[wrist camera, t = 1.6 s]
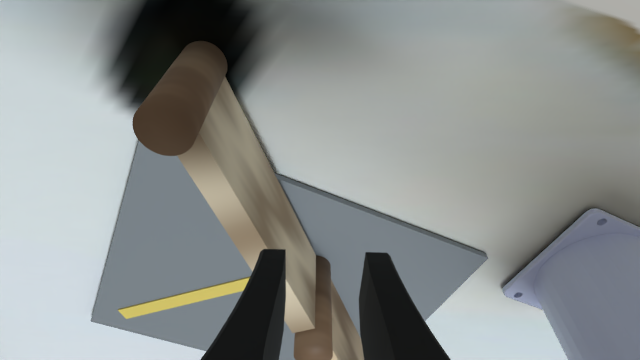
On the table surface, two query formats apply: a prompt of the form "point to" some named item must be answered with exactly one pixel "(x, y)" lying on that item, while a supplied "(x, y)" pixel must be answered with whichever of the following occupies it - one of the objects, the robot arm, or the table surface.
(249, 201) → the wooden plank
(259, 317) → the robot arm
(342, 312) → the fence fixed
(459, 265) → the board
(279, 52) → the table surface
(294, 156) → the table surface
